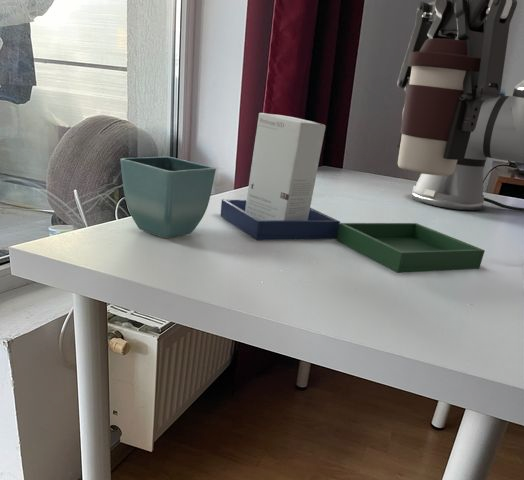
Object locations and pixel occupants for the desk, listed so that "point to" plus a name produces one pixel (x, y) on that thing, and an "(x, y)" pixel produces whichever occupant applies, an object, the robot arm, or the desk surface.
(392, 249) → the green tray
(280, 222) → the navy tray
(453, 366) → the desk surface
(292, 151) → the cosmetic box
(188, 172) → the flower pot
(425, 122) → the coffee cup
